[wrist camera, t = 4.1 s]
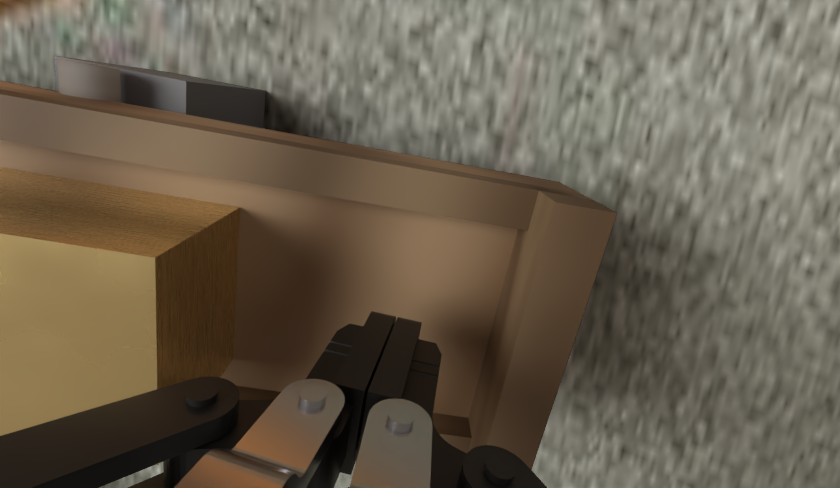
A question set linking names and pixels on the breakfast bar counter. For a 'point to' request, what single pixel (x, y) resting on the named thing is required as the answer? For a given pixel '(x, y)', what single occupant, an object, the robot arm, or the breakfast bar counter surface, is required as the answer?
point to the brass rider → (108, 294)
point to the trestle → (187, 94)
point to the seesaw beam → (350, 245)
